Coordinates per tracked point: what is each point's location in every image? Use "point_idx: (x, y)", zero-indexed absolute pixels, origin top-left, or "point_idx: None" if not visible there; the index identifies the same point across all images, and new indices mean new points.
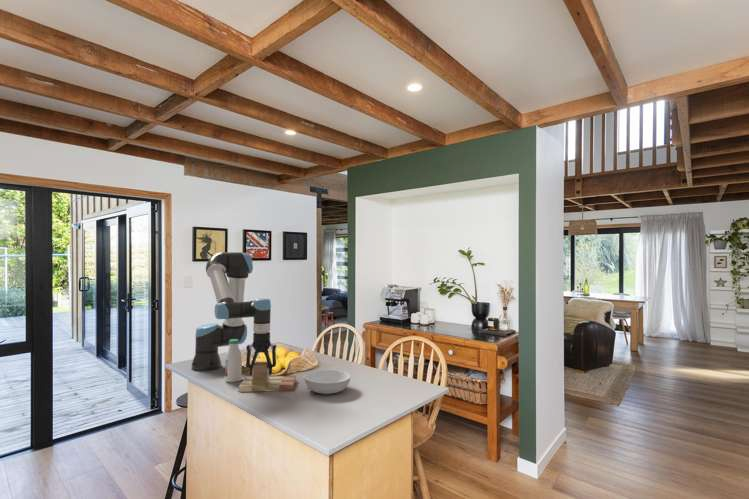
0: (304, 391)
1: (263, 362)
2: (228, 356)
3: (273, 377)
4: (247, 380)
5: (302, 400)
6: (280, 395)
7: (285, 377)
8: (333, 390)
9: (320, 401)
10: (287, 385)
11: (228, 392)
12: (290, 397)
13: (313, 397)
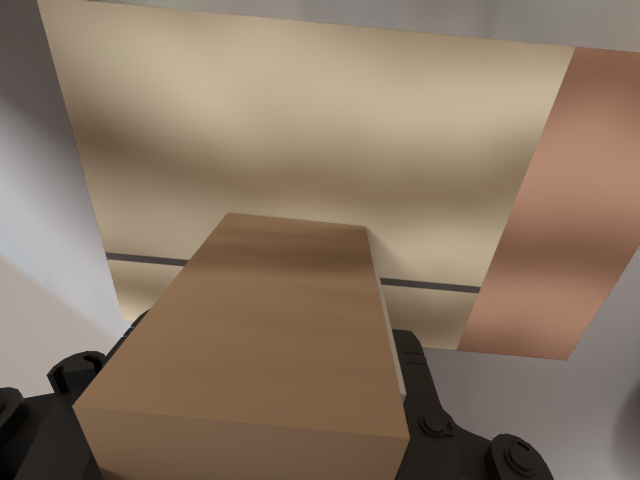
0: (617, 351)
1: (280, 476)
2: None
3: (424, 92)
4: (129, 175)
5: (545, 453)
6: (440, 385)
7: (581, 117)
8: None
9: (629, 473)
10: (523, 354)
11: (80, 292)
12: (493, 416)
13: (622, 433)
